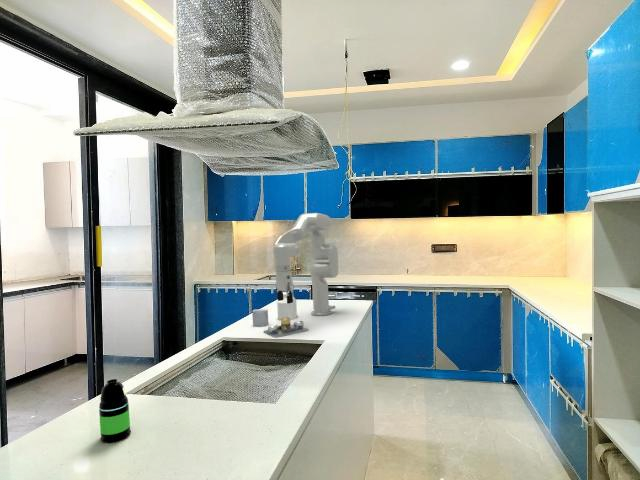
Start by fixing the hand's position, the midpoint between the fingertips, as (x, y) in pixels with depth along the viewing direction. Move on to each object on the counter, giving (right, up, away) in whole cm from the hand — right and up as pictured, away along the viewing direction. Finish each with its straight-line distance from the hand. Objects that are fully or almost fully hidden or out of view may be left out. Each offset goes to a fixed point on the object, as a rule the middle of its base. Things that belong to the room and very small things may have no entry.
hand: (285, 301), depth 215 cm
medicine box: (-15, -16, +17) cm, 28 cm away
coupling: (0, -14, 0) cm, 14 cm away
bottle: (-36, -21, -104) cm, 112 cm away
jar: (-1, -15, +32) cm, 36 cm away
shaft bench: (0, -15, 0) cm, 15 cm away
